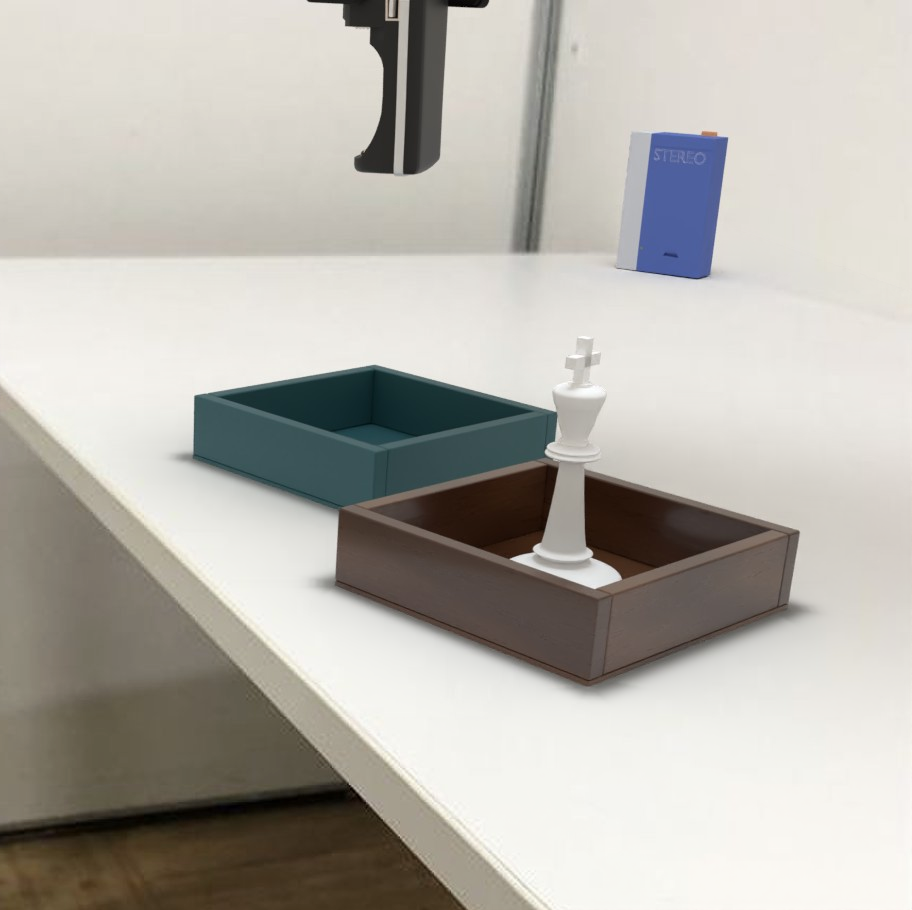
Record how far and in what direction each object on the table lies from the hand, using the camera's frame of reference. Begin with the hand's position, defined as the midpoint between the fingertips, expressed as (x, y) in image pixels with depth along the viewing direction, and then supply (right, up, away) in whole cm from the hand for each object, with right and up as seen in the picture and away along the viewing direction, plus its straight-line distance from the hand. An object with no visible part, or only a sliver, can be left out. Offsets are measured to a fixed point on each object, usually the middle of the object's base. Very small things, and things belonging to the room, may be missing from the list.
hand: (398, 2), depth 72 cm
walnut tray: (+6, -27, -8) cm, 29 cm away
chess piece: (+6, -27, -8) cm, 29 cm away
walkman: (+29, +4, +71) cm, 77 cm away
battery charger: (0, -7, +3) cm, 8 cm away
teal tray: (-1, -20, +8) cm, 22 cm away
